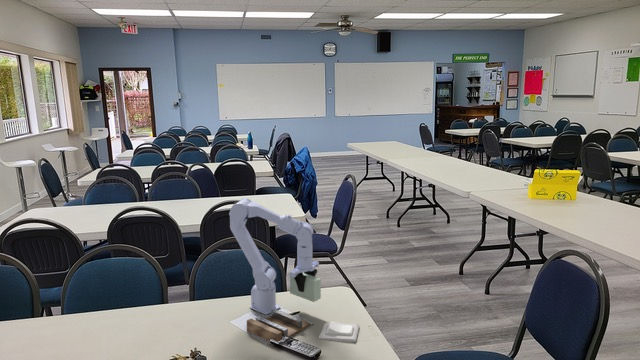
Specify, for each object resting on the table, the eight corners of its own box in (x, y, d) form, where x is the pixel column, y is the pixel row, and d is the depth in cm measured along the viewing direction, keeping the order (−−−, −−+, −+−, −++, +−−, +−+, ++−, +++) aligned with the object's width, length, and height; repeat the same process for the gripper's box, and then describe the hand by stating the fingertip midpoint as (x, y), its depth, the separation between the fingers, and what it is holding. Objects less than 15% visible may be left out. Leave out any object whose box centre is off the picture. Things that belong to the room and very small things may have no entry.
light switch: (323, 316, 163) (358, 317, 161) (324, 327, 164) (359, 328, 161) (317, 331, 153) (355, 332, 150) (318, 342, 153) (355, 344, 151)
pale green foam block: (313, 302, 167) (313, 281, 166) (290, 293, 174) (289, 273, 173) (321, 297, 171) (322, 277, 169) (298, 289, 178) (298, 270, 177)
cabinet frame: (246, 331, 158) (246, 320, 158) (280, 313, 171) (280, 303, 171) (277, 345, 149) (277, 334, 148) (310, 325, 162) (310, 315, 161)
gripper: (300, 263, 161) (300, 298, 164) (325, 252, 172) (324, 286, 175) (285, 258, 166) (286, 293, 168) (311, 248, 177) (311, 281, 179)
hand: (304, 289), depth 172 cm, fingers closed on pale green foam block, 4 cm apart
